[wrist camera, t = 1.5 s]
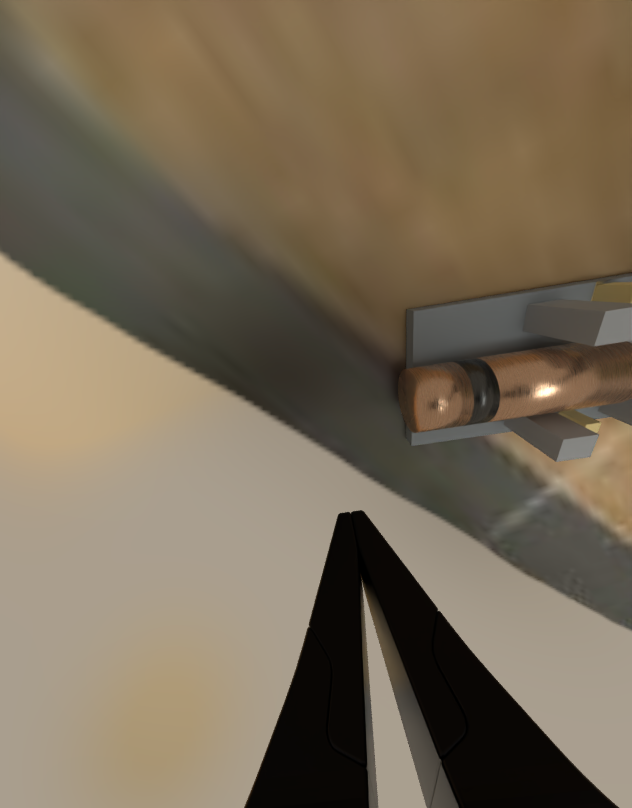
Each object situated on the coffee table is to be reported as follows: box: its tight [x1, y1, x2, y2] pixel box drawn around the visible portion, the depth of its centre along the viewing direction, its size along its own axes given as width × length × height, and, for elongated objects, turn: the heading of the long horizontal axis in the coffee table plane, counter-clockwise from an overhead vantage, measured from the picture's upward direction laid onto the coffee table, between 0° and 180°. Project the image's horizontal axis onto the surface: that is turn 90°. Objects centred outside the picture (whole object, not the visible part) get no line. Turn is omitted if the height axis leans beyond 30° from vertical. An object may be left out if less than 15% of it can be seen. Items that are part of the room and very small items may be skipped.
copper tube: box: [398, 341, 632, 433], centre depth 15 cm, size 12×4×4 cm, turn 99°
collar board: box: [406, 273, 632, 462], centre depth 16 cm, size 20×10×6 cm, turn 99°
